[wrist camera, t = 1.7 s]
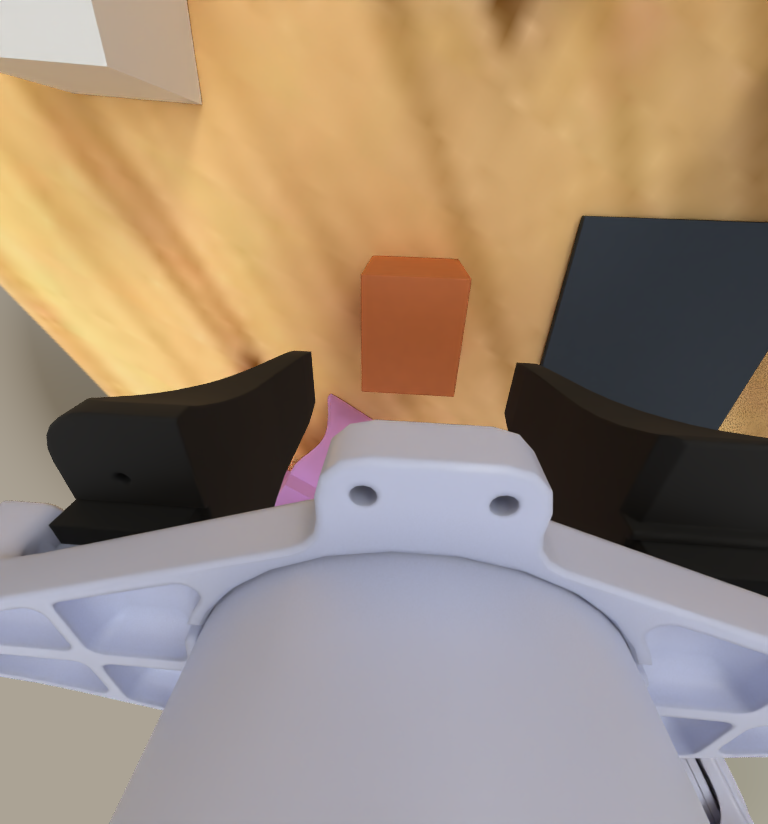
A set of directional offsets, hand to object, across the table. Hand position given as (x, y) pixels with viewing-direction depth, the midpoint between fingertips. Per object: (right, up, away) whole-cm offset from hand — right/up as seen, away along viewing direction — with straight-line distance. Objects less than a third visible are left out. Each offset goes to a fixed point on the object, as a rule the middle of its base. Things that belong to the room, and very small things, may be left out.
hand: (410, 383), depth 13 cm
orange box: (+1, +5, +8) cm, 9 cm away
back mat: (+14, +1, +9) cm, 17 cm away
